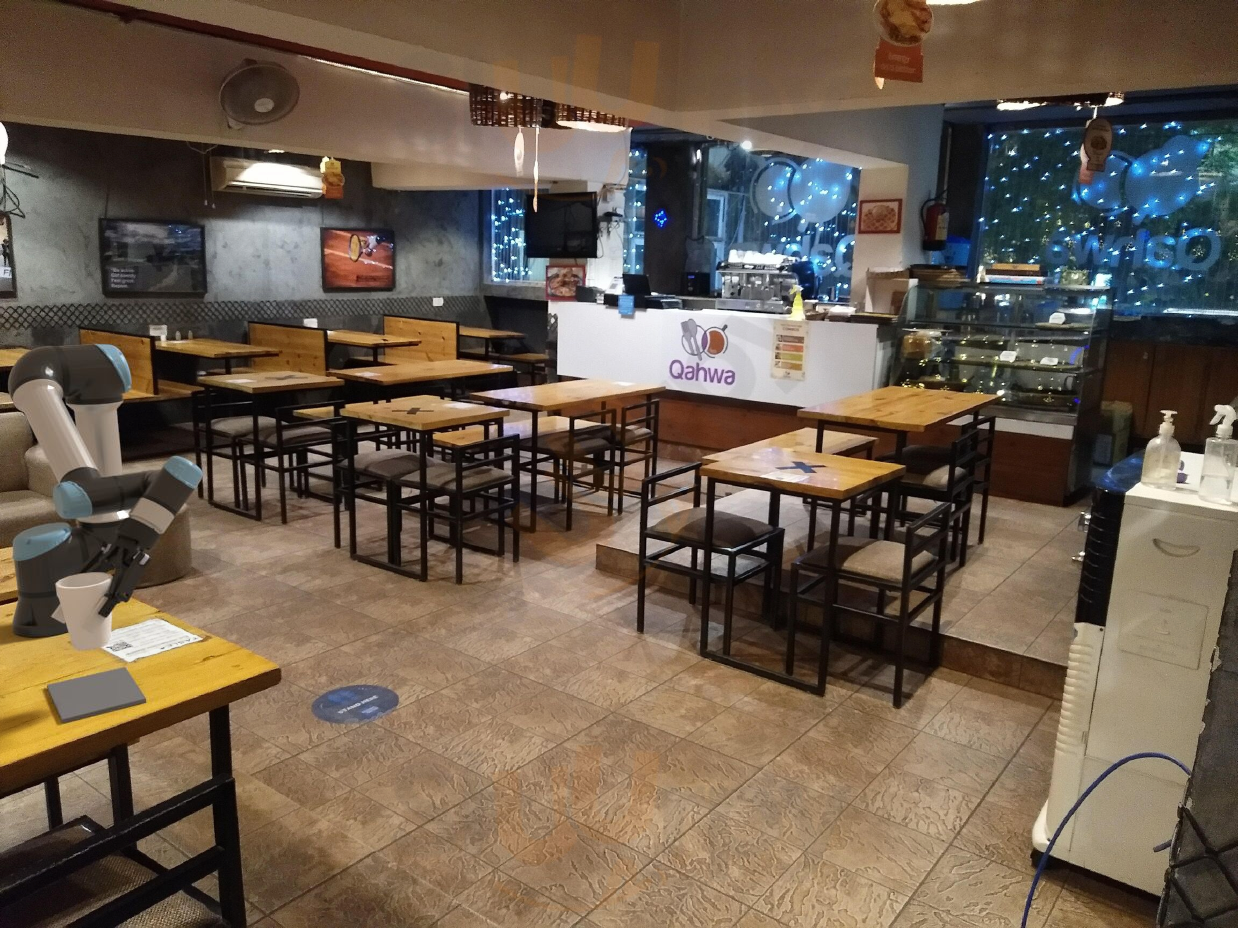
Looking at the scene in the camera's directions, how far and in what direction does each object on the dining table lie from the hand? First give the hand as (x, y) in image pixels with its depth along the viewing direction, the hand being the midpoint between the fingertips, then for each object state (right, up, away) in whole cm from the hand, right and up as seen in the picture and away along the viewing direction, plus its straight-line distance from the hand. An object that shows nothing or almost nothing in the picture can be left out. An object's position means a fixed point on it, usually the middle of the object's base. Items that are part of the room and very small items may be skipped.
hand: (72, 625), depth 171 cm
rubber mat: (+1, -15, +6) cm, 16 cm away
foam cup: (+2, -5, +4) cm, 6 cm away
